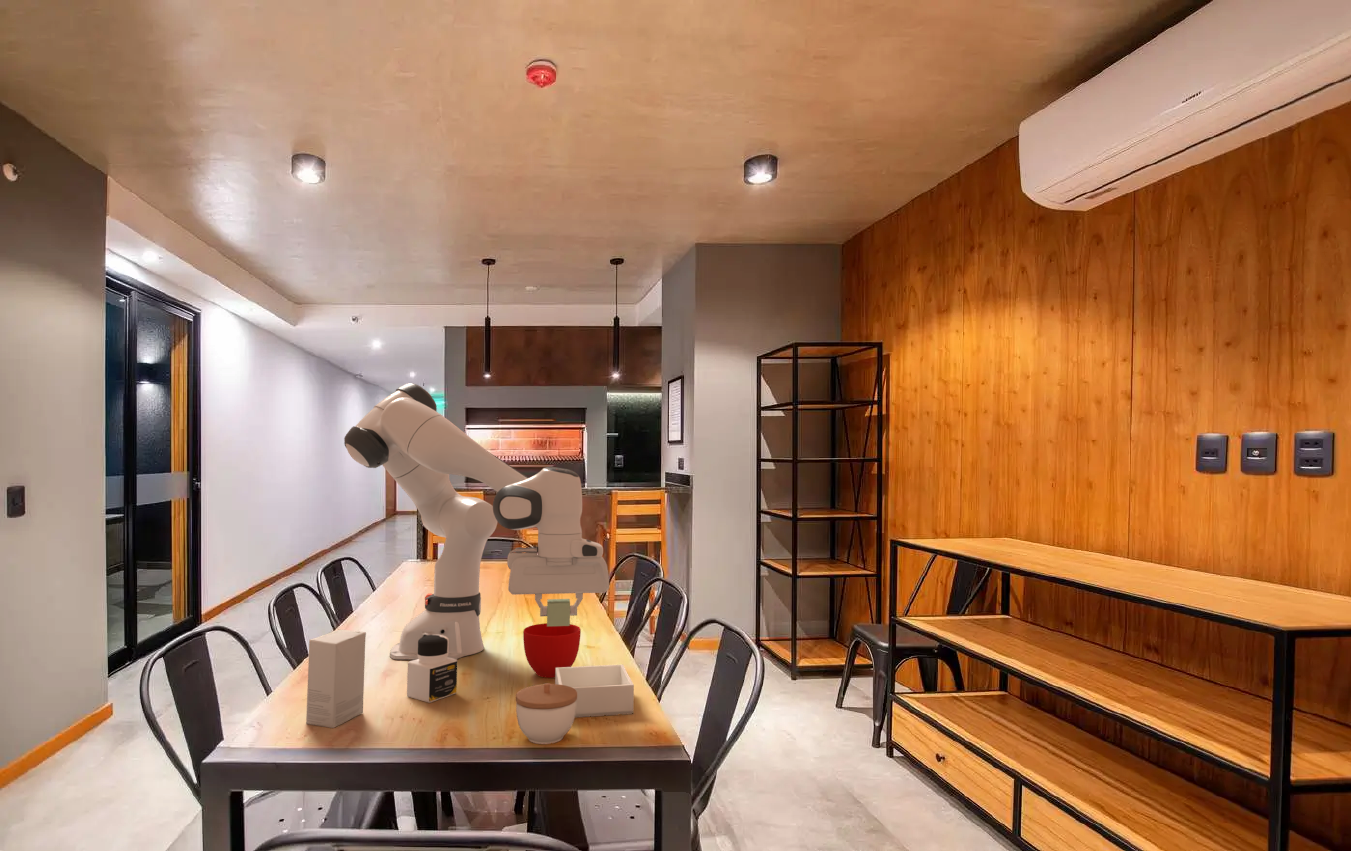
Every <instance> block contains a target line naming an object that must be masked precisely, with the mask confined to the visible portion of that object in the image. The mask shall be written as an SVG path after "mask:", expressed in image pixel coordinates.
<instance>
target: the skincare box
mask: <svg viewBox="0 0 1351 851" xmlns="http://www.w3.org/2000/svg"><path fill="white" fill-rule="evenodd" d="M366 636H367V632H366V631H358V630H350V629H337V630H334V631H332V632H329V633H326V634H323V635H320V636H317V637H314V638H312V639H309V643H308V664H307V666H308V667H307V669H308V670H307V693H306V719H305V721H306V722H305V724H306V725H309V726H310V725H311V726H317V727H325V728H330V729H334V728H335V727H338V726H340V725H342V724H344V723H345V722H348V721H349V720H352V719H354V718H355V717H358V716H359V715H361V714H364V693H365V692H364V690H365V664H366V662H365V658H366Z"/></svg>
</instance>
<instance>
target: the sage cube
mask: <svg viewBox="0 0 1351 851" xmlns="http://www.w3.org/2000/svg"><path fill="white" fill-rule="evenodd" d="M546 606H547V616H546V623H547V626H570V624H571V616H570V606H571V599H570V598H553V599H552V598H551V599H549V598H548V599H547V605H546Z"/></svg>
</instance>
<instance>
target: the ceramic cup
mask: <svg viewBox="0 0 1351 851" xmlns="http://www.w3.org/2000/svg"><path fill="white" fill-rule="evenodd" d="M581 630H582V629H581V627H580V626H578V625H575V624H572V623H570V626H547V622H546V623H537V624H532V625H529V626H527V627H525V628H524V629H523V631H522V632H523V633H522V635H523V636H522V637H523V650H524V654H525V659H526V661H527V663H528V664H529V666H530V668H531V669H532V671H533V672H534V673H535V674H536V676H538V677H541V678H549V679H550V678H551V679H552V678H555V671H556V668H559V667H573V664H574V663H575V661H576V659H577V656H578V654H579V653H578V652H579V650H580V649H579V648H580V645H581V644H580V642H581V632H582V631H581Z"/></svg>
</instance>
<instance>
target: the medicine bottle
mask: <svg viewBox="0 0 1351 851" xmlns="http://www.w3.org/2000/svg"><path fill="white" fill-rule="evenodd" d="M448 645H449V639H448V638H447V637H446V636H444V635H427V636H424V637H422V638H420V639H419V640H418V658H419V659H412V660H410V661H408V662H407V675H406V677H407V678H406V681H407V682H406V697H408V698H412V699H415V700H418V701H422V702H425V703H428V704H429V703H430V704H431V703H433V702H436V701H439V700H441V699H445V698H447V697H451V696H453V695H456V694H457V688H458V687H457V686H458V684H457V683H458V659H453V658H449V657H447V656H448Z"/></svg>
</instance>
